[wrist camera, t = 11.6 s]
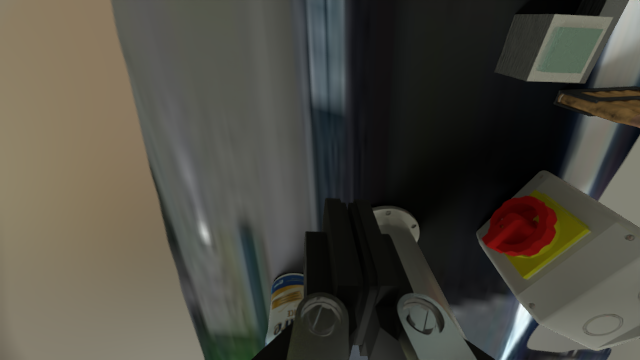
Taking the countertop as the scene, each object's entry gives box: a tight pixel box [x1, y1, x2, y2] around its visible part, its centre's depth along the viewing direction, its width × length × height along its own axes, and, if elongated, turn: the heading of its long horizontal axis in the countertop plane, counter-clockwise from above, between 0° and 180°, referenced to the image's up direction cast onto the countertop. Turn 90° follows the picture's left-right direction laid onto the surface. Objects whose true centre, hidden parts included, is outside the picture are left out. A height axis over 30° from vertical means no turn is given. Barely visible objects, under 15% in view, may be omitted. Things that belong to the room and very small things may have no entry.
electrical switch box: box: [476, 170, 640, 351], centre depth 37 cm, size 15×15×20 cm
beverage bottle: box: [265, 273, 304, 347], centre depth 43 cm, size 8×8×20 cm
